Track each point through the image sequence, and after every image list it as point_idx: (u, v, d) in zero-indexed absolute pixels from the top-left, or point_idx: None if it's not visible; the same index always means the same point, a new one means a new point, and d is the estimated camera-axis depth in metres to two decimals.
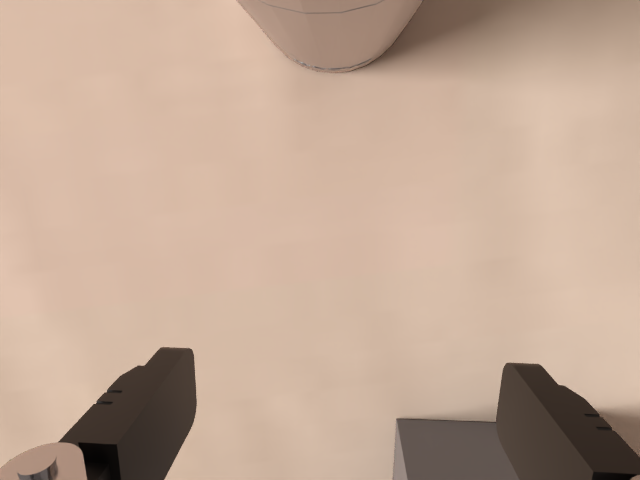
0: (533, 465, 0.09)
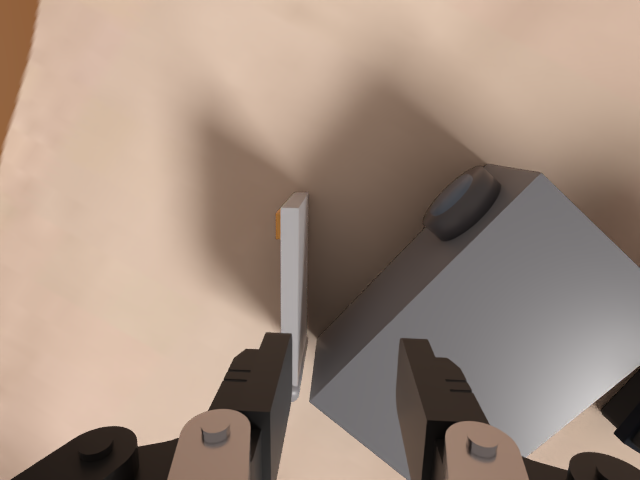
0: (407, 425, 0.10)
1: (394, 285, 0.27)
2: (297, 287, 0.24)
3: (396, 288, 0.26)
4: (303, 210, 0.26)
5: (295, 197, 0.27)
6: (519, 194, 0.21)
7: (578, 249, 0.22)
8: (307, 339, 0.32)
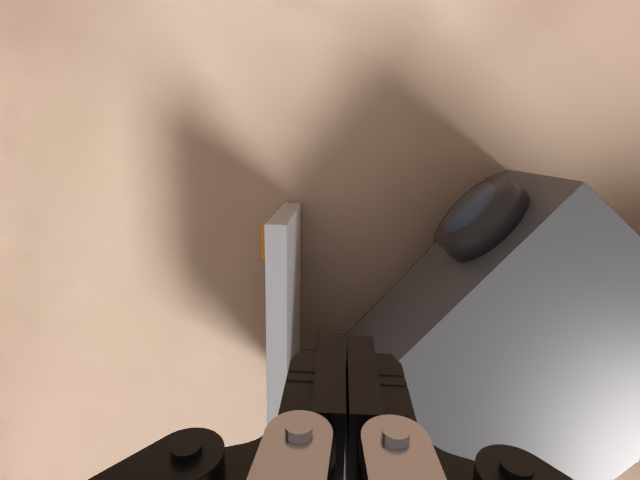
0: None
1: (401, 313, 0.23)
2: (285, 319, 0.20)
3: (404, 317, 0.22)
4: (293, 225, 0.22)
5: (284, 209, 0.23)
6: (557, 209, 0.17)
7: (629, 275, 0.18)
8: None
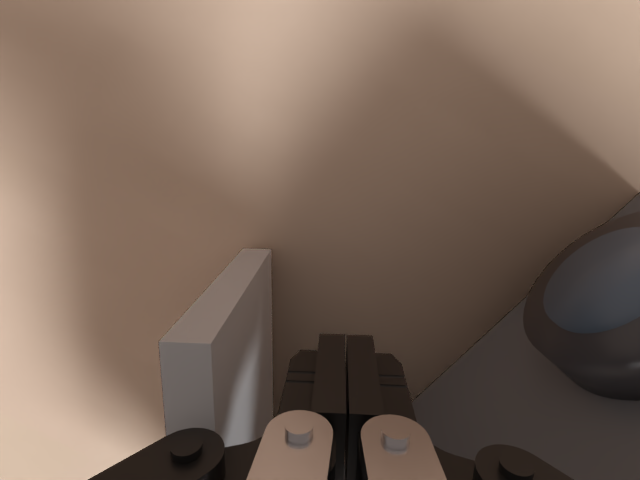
0: None
1: None
2: None
3: None
4: (247, 311, 0.11)
5: (233, 273, 0.12)
6: None
7: None
8: None
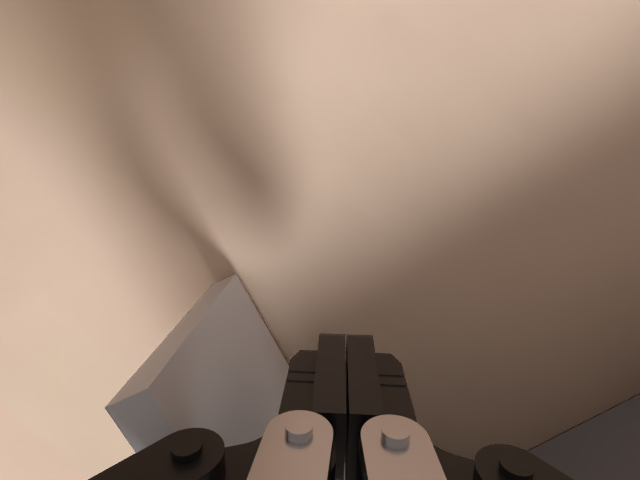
0: None
1: None
2: None
3: None
4: (211, 341, 0.11)
5: (194, 312, 0.12)
6: None
7: None
8: None
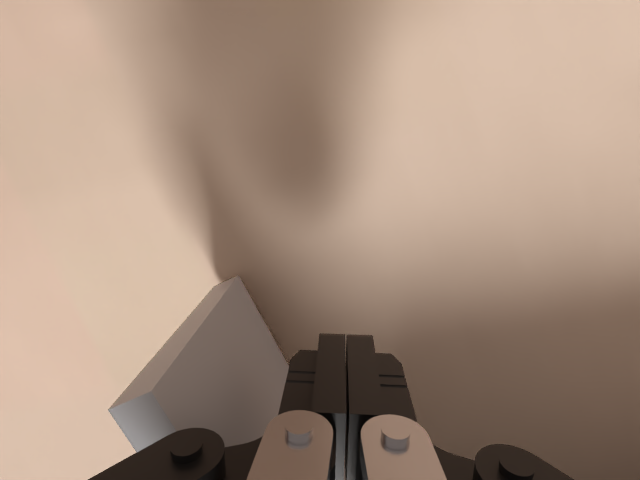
0: None
1: None
2: None
3: None
4: (214, 343, 0.11)
5: (196, 314, 0.12)
6: None
7: None
8: None
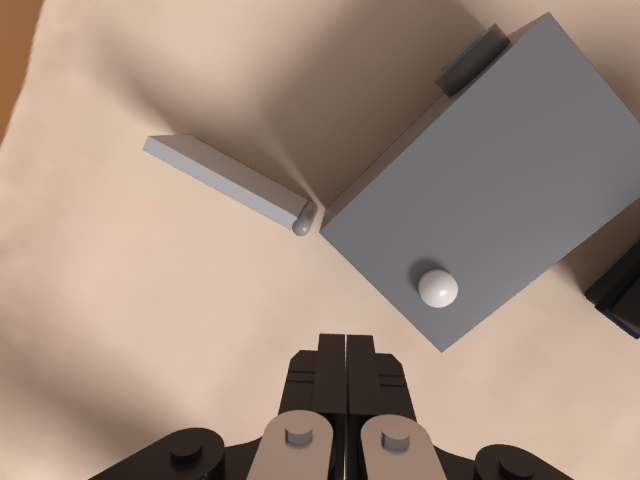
0: None
1: (403, 141, 0.29)
2: (212, 171, 0.27)
3: (406, 140, 0.28)
4: (175, 139, 0.30)
5: None
6: (527, 32, 0.23)
7: (577, 90, 0.24)
8: (311, 201, 0.34)
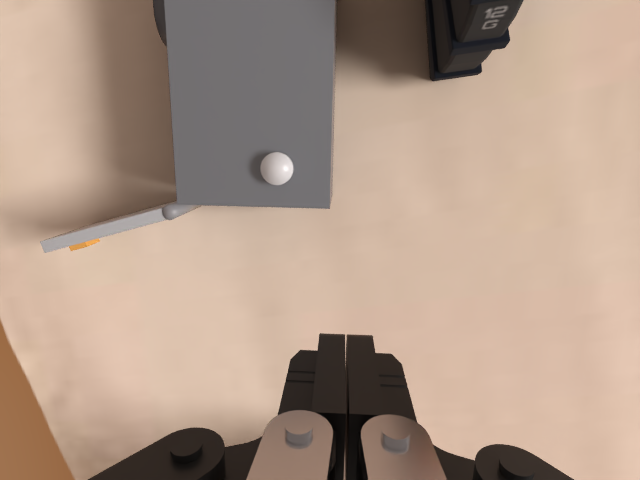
0: None
1: None
2: (90, 228, 0.34)
3: None
4: None
5: None
6: None
7: None
8: None
